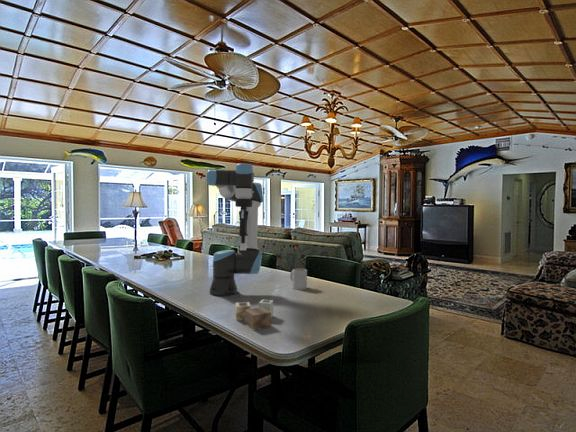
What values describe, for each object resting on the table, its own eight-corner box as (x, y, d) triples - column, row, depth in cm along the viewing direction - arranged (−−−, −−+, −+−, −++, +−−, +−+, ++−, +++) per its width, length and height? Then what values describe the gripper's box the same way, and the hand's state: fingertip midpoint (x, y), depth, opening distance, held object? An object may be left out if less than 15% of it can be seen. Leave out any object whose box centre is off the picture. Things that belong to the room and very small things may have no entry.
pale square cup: (258, 318, 148) (258, 302, 148) (262, 315, 153) (262, 299, 152) (269, 319, 147) (270, 303, 146) (273, 316, 152) (273, 299, 151)
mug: (309, 288, 203) (310, 269, 203) (299, 290, 197) (299, 271, 197) (295, 284, 212) (295, 267, 211) (285, 286, 206) (285, 268, 206)
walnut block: (252, 330, 134) (253, 315, 134) (244, 324, 141) (244, 309, 141) (270, 327, 138) (271, 312, 138) (262, 321, 145) (262, 307, 145)
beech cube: (236, 320, 145) (236, 306, 145) (235, 316, 151) (235, 302, 151) (250, 319, 146) (250, 305, 146) (249, 315, 152) (249, 301, 152)
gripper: (251, 198, 148) (250, 252, 149) (253, 198, 161) (252, 248, 162) (233, 197, 148) (233, 252, 149) (237, 198, 161) (236, 248, 162)
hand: (243, 250), depth 155 cm, fingers closed
